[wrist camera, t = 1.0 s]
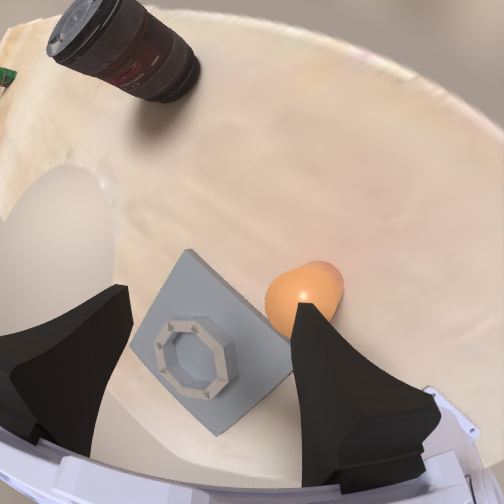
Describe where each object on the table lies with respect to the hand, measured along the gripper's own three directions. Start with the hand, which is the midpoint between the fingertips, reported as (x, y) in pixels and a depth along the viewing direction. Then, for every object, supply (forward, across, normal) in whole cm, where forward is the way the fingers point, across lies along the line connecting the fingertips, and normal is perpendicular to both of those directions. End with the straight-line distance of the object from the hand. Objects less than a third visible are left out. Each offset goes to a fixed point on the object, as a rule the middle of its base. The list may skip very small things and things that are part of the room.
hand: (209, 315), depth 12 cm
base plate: (+11, +2, +13) cm, 17 cm away
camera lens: (+23, +8, -13) cm, 28 cm away
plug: (+10, -7, +4) cm, 13 cm away
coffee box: (+61, +77, -28) cm, 102 cm away
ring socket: (+11, +2, +13) cm, 17 cm away
